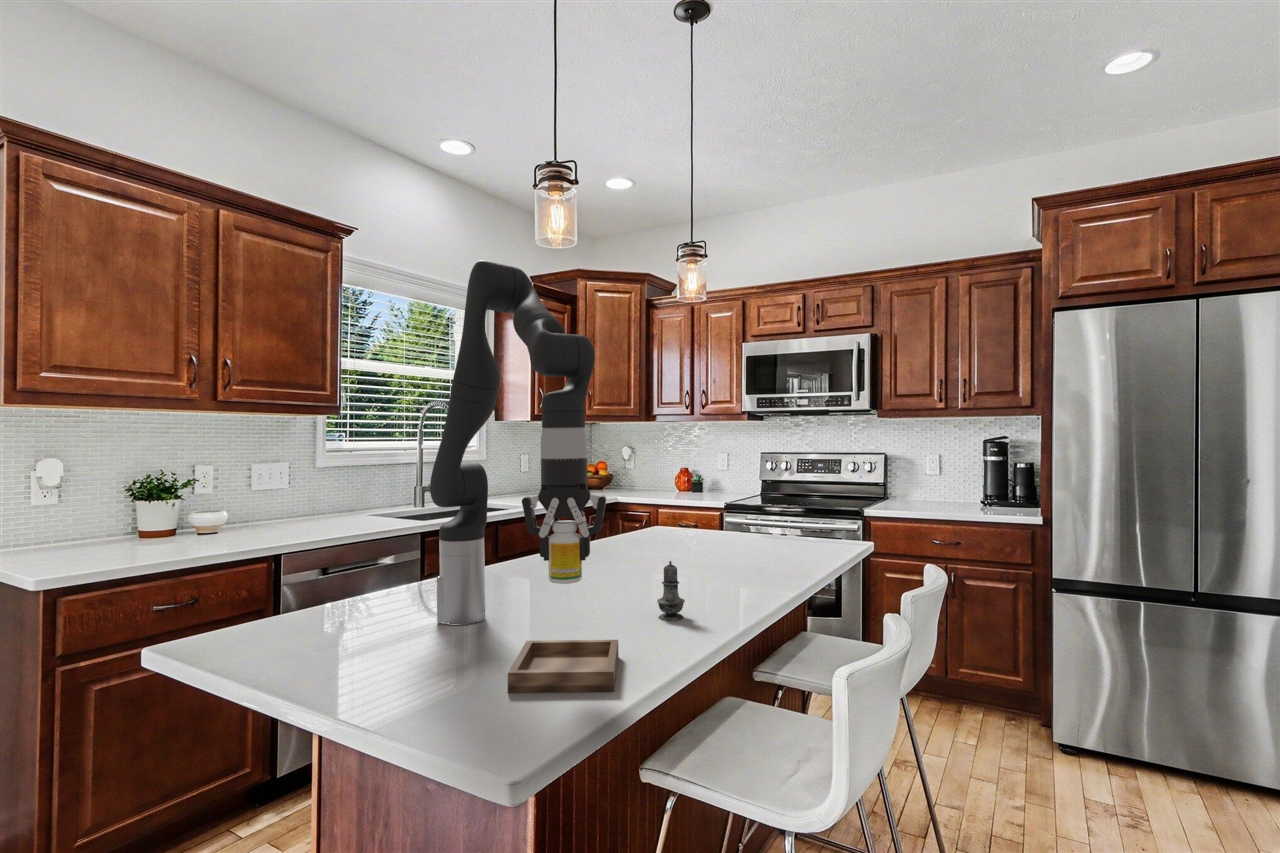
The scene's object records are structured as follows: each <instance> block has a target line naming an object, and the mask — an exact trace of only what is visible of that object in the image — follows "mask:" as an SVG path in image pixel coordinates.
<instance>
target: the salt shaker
mask: <svg viewBox="0 0 1280 853" xmlns="http://www.w3.org/2000/svg"><path fill="white" fill-rule="evenodd" d="M661 583H662V585H663V594H662V596H661V597H660V598H658V599H657V601H656V602H657V604H658V607H659V610H660V611H661V612H662V613H661V614H659V616H658V619H659V620H660V619H661V621H664V620H667V621H666V622H676V621H675V620H678V621H681V619H682V620H684V618H685V617H684V615H683V614H681V613H680V612H681V611H682V610H683V608H684V603H685V602H686V601H685V599H684V598H681V597H680V594H679V584H680V581H678V567H677V566H676V565H673V563H672V561H671V560H669V562H668V564H667V565H665V566H664V567H663V581H662V582H661Z"/></svg>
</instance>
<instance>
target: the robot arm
mask: <svg viewBox="0 0 1280 853" xmlns="http://www.w3.org/2000/svg"><path fill="white" fill-rule="evenodd" d="M464 308H465V309H464V314H463V315H464V316H463V325H462V333H461V339H460V345H459V351H458V356H457V359H456V360H457V361H456V365H455V369H454V373H453V379H452V384H451V389H450V395H449V401H448V407H447V413H446V417H445V418H446V419H445V423H444V427H443V432H442V436H441V440H440V443H439V447H438V450H437V453H436V457H435V461H434V464H433V467H432V472H431V475H430V476H431V477H430V480H429V482H430V483H429V491H430V492H429V493H430V497H431V500H432V502H433V504H435V506H437V507H439V508H454V507H455V508H456V507H459V511H458V513H456V515H455V516H453V518H451V519H450V520H448V521H446V522H445V523H443V524H442V525H441V526H440V527H439V529H438V530H439V531H438V532H439V533H438V536H439V537H438V538H439V544H438V545H439V546H438V547H439V548H438V549H439V550H438V551H439V575H438V576H437V577H436V623H437V622H444V623H449V624H466V625H470V624H469V623H473V624H476V623H475V622H477V623H480V622H482V621H484V620H485V619H486V576H485V575H486V572H485V571H486V570H485V567H486V565H485V563H486V562H485V559H486V558H485V529H486V526H487V521H488V520H487V519H488V497H489V480H488V476H487V472H486V469H485V468H484V466H483V465H482V464H481V463H479V462H475V461H466V462H463V461H462V460H463V458H464V455H465V452H466V450H467V447H468V446H469V444H470V442H471V441H472V440H473V439H474V437H475V435H477V434H478V432H479V430H481V428H482V427H483V426H484V425H485V424H486V422H487V421H488V420H489V419H490V417H491V415H492V414H493V413H494V410H495V407H496V404H497V398H498V394H499V389H500V384H501V374H500V369H499V366H498V364H497V362H496V359H495V357H494V354H493V352H492V349H491V346H490V344H489V341H488V337H487V333H486V332H487V331H486V316H487V312H488V311H493V312H497V313H498V312H499V313H503V314H504V313H505V314H510V313H511V314H513V318H512V324H513V329H514V331H515V333H516V335H517V336H518V337H519V338H520V340H521V341H522V342H523V344H524V345H525V346H526V347H527V351H528V355H529V362H530V365H531V368H532V369H533V370H534V371H535V372H536V373H537V374H539V375H541V376H545V377H560V378H561V377H563V378H567V381H566V384H565V385H564V387H563V389H559V390H554V391H551V392H547V393H545V394H544V395H543V396H542V399H541V436H540V490H539V493H538V494H537V495H532V496H529V495H527V496H525V497H523V498H522V500H521V504H522V505H521V506H522V510H523V514H524V519H525V523H526V528H527V532H528V534H531V535H534V536H537V537H538V539H539V556H540V558H543V561H544V562H545V561H546V562H547V561H548V562H549V551H548V540H549V537H550V536H551V535H549V532H550V530H551V527H552V524H553V522H555V520H560V519H563V518H566V519H570V520H571V519H574V521H576V523H577V528H578V529H579V531H580V533H581V535H580V537H581V538H580V542H581V560H582V561H586V560H587V558H588V557H589V556H590V553H591V536H593V535H595V534H598V533H600V532H601V530H602V526H603V522H604V521H603V520H604V515H605V511H606V510H605V509H606V504H607V497H606V496H605V495H596V494H591V492H590V490H589V488H588V454H589V453H588V452H589V451H588V442H587V440H588V439H587V434H586V411H585V410H586V409H585V407H586V406H585V404H586V400H587V394H588V390H589V386H590V383H591V382H590V381H591V377H592V374H593V371H594V367H595V363H596V351H595V348H594V345H593V343H592V341H591V340H590V339H589V337H588V336H585V335H581V334H575V333H574V334H572V333H566V332H565V329H564V328H565V327H564V326H563V325H562V323H561V322H560V321H559V320H558V318H557V317H556V316H554V314H552V312H550V310H548V309H547V307H545V305H544V304H543V302H542V300H541V299H540V296H539V294H538V293H537V291H536V289H535V287H534V286H533V283H532V282H531V279H530V278H529V276H528V275H527V273H525V272H524V271H523V270H522V269H520V268H518V267H515V266H512V265H507V264H503V263H498V262H493V261H490V260H489V261H488V260H484V259H483V260H482V259H480V260H478V261H476V262H475V263H474V265H473V267H472V269H471V272H470V275H469V278H468V284H467V290H466V299H465V307H464ZM487 310H488V311H487ZM538 502H539V503H540V504H541V506H542V507H543V508H544V510H545V511H546V513H545V517H544V519H543V521H542V525H541V526H538V523H537V518H536V514H535V509H537V507H538ZM589 502H592V503H591V504H592V508H593V509H594V510H595V515H594V521H593V525H591V526H589V523H588V522H587V518H586V516H585V514H584V511H583V510H584V509H585V507H586V505H587V504H588V503H589ZM483 619H484V620H483ZM481 620H482V621H481ZM479 621H480V622H479Z"/></svg>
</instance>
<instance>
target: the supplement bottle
mask: <svg viewBox="0 0 1280 853" xmlns="http://www.w3.org/2000/svg"><path fill="white" fill-rule="evenodd" d="M551 527H552V529H551V530H552V531H553V534H551V535H549V536H550V537H549V540H548V551H549V560H548V580H549V582H550V583H551V584H559V585H568V584H569V585H571V584H574V583H575V584H576V583H579V582H580V581H581V580H582V579H583V570H582V569H583V568H582V566H583V564H582V561H583V560H581V542H580V538H581V535H580V534H579V533H577V532H576V531H577V530H578V525H577V523H576V521H575V520H571V519H570V520H568V519H567V520H554V521H553V523H552V525H551Z"/></svg>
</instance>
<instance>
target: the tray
mask: <svg viewBox="0 0 1280 853" xmlns="http://www.w3.org/2000/svg"><path fill="white" fill-rule="evenodd" d="M618 663H619V639H563V640H562V639H561V640H560V639H559V640H557V639H555V640H554V639H553V640H551V639H550V640H545V639H544V640H526V641H525V643H524V644H523V646H522V648H521V649H520V651H519V653H518V654H517V656H516V658H515V660H514V661H513V663H512V665H511V666H510V668H509V670H508V671H507V693H508V694H516V693H517V694H518V693H519V694H523V693H530V694H531V693H532V694H533V693H535V694H536V693H537V694H538V693H605V692H606V693H607V692H609V693H610V692H611V693H614V691H615V684H616V678H617V671H618Z"/></svg>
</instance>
